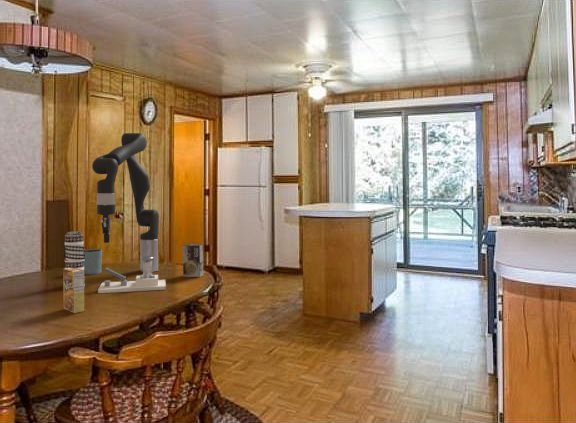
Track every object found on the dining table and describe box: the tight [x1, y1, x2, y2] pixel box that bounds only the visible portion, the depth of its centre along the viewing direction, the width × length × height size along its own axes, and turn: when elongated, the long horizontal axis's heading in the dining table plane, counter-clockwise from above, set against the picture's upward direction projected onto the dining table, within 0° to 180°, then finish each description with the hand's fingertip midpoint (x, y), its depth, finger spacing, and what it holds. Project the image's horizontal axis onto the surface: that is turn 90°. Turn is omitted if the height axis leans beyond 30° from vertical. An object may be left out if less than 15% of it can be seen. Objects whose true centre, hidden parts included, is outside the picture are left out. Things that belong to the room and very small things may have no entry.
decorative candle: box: [62, 230, 86, 287], centre depth 210 cm, size 9×9×25 cm
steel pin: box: [142, 257, 154, 279], centre depth 209 cm, size 5×5×12 cm
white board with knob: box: [97, 274, 167, 294], centre depth 208 cm, size 15×28×4 cm, turn 105°
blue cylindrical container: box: [83, 248, 103, 275], centre depth 242 cm, size 10×10×12 cm
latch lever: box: [104, 267, 127, 281], centre depth 205 cm, size 4×10×1 cm, turn 105°
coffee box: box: [182, 243, 204, 278], centre depth 235 cm, size 9×6×16 cm
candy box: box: [62, 268, 85, 314], centre depth 170 cm, size 9×4×15 cm, turn 50°
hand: (106, 242), depth 204 cm, fingers closed
